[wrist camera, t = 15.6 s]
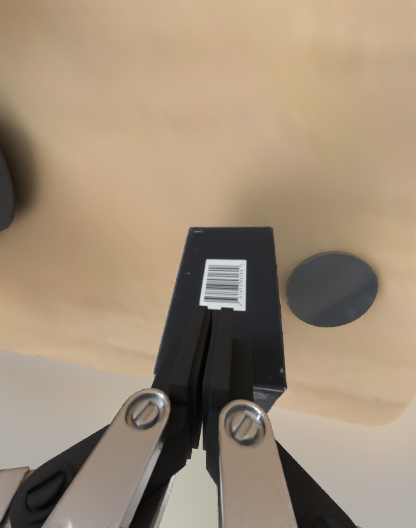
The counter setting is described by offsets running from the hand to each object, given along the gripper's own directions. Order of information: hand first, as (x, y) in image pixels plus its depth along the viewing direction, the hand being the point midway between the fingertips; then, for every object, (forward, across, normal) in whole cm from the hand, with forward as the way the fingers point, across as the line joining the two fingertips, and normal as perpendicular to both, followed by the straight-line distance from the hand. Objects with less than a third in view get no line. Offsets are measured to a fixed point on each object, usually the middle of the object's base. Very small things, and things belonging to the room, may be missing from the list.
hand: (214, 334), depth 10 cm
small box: (+4, 0, -1) cm, 4 cm away
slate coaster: (+13, -10, +4) cm, 17 cm away
